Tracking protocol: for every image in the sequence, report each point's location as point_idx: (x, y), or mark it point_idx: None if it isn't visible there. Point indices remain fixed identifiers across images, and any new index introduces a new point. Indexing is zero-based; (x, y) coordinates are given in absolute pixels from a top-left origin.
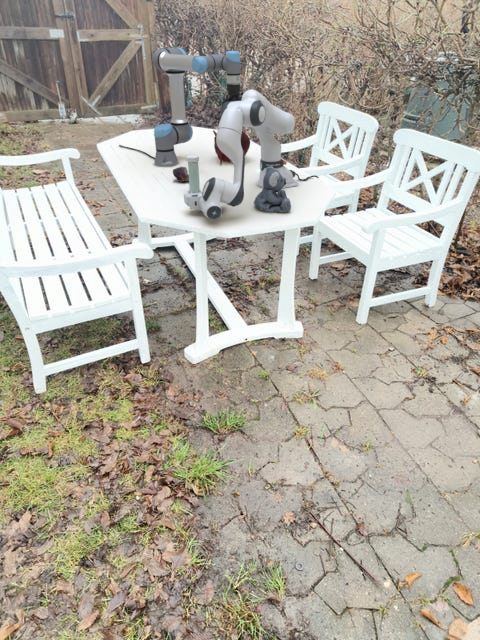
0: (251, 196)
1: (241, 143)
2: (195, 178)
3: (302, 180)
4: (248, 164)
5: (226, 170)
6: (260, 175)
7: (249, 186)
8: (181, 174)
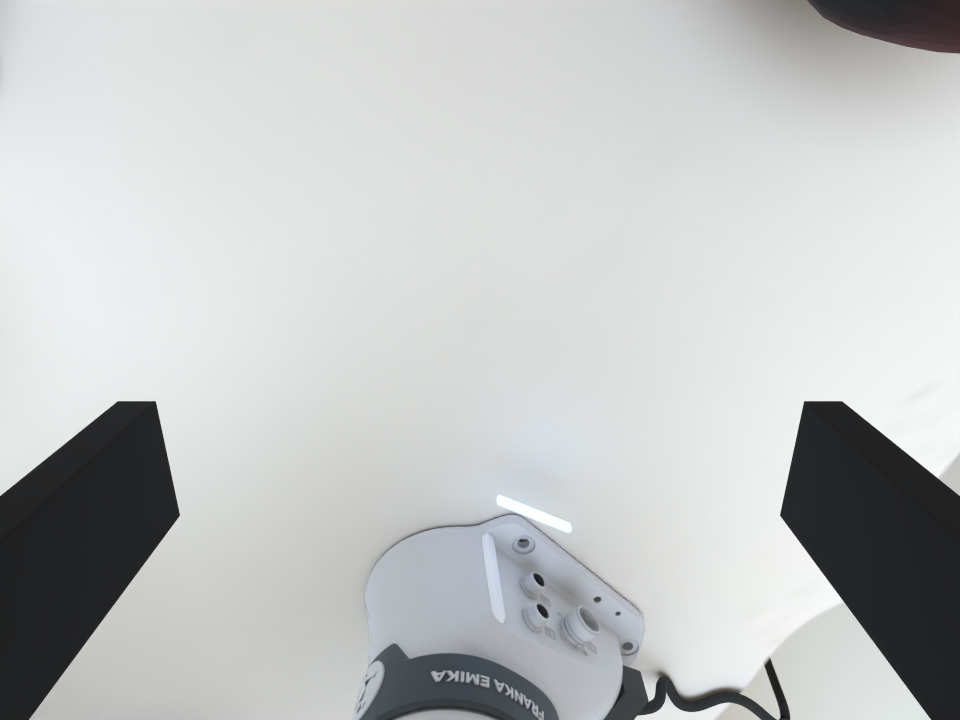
0: (190, 648)
1: (938, 19)
2: None
3: (667, 692)
4: (838, 98)
5: (509, 69)
6: (377, 626)
7: (319, 528)
8: None
